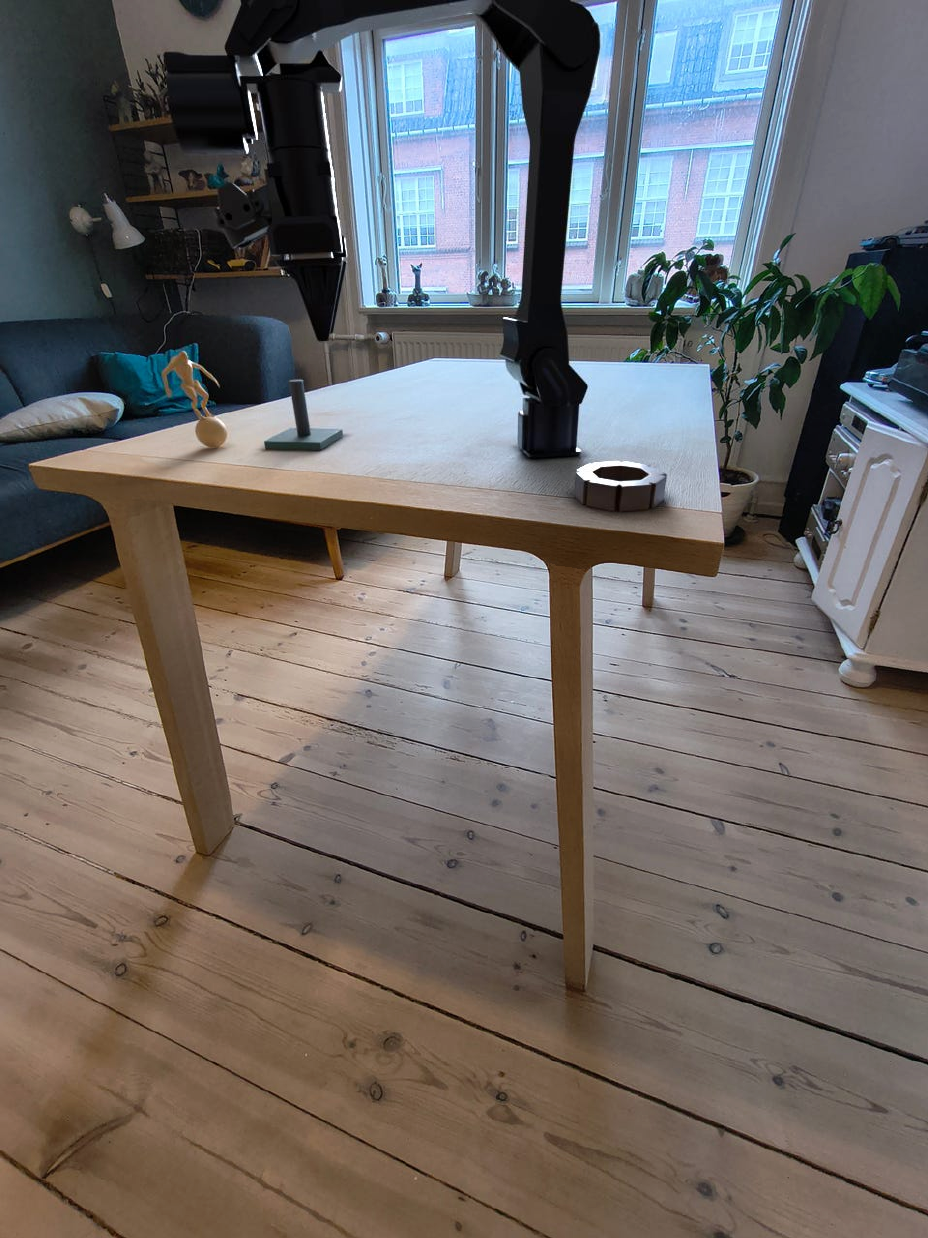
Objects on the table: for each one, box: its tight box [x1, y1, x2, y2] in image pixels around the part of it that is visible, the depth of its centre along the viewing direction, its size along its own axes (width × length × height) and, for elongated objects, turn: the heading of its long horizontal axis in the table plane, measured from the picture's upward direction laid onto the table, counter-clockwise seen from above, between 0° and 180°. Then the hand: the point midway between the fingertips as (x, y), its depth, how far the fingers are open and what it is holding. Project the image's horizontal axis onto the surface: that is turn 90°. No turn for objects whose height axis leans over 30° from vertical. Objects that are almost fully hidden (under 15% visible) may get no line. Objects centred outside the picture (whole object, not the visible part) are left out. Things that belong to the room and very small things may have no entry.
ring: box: [573, 460, 668, 513], centre depth 58 cm, size 8×8×2 cm
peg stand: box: [263, 379, 344, 451], centre depth 80 cm, size 8×8×8 cm
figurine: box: [161, 350, 228, 448], centre depth 78 cm, size 8×6×12 cm
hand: (325, 337), depth 63 cm, fingers open, 9 cm apart
